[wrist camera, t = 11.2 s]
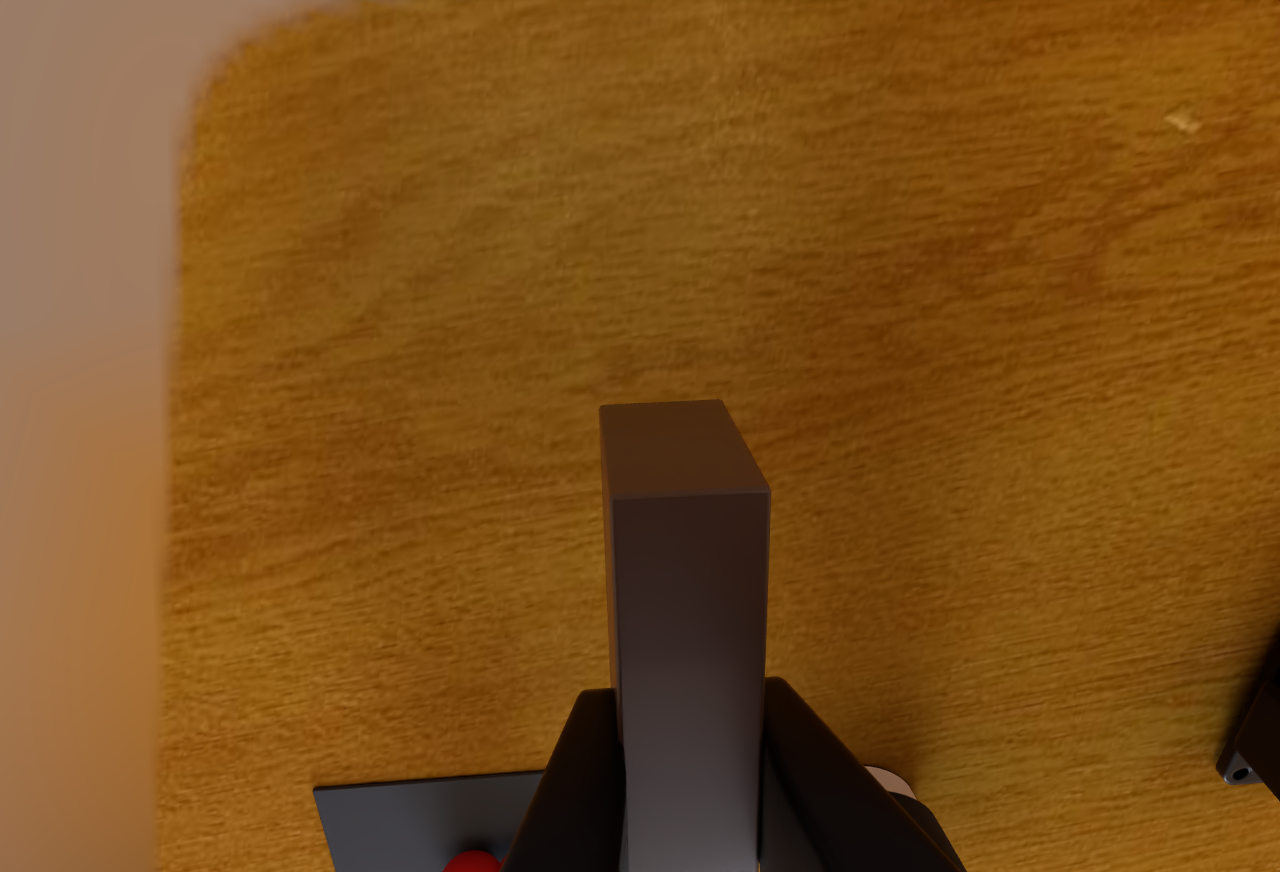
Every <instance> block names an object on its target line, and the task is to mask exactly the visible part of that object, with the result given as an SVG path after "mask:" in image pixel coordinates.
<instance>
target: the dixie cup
mask: <svg viewBox="0 0 1280 872" xmlns="http://www.w3.org/2000/svg"><path fill="white" fill-rule="evenodd" d="M865 767H866V768H867V770H868V771H869V772H870V773H871V774H872V775H873V776H874V777H875V778H876V779H877V780H878V781H879V783H880V784H881V785H882V786H883V787H884V788H885V789H886V790H887V791H888V792H889V793H890V795H891V796H892V797H893V798H894V799H895V800H896V801H897V802H898V803H899V804H900V805H901V806H902V808H903V809H904V810H905V811H906V812H907V813H908V814H909V815H910V816H911V817H912V818H913V820H914V821H915V822H916V823H917V824H918V825H919V826H920V827H921V828H922V829H923V830H924V831H925V833H926V834H927V835H928V836H929V837H930V838H931V839H932V840H933V841H934V842H935V843H936V845H937V846H938V847H939V848H940V849H941V850H942V851H943V852H944V853H945V854H946V855H947V856H948V858H949V859H950V860H951V861H952V862H953V863H954V864H955V865H956V866H957V867H958V868H959V870H960V871H961V872H967V871H966V869H965V868H964V866H963V864H962V862H961V861H960V859H959V857H958V855H957V854H956V852H955V850H954V849H953V847H952V845H951V843H950V842H949V840H948V838H947V837H946V835H945V833H944V831H943V830H942V828H941V826H940V824H939V823H938V821H937V819H936V818H935V816H934V815H933V813H932V812H931V811H930V810H929V809H928V808H927V807H926V806H925V805H924V804H922V803H921V802H919V801H917V799H916V797H915V796H914V794H913V792H912V790H911V789H910V787H909V786H908V784H907V783H906V782H905V781H904V780H903V779H901V778H900V777H898V776H897V775H895V774H893V773H891V772H889V771H886V770H883V769H880V768H875V767H868V766H865ZM760 872H761V870H760Z"/></svg>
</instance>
